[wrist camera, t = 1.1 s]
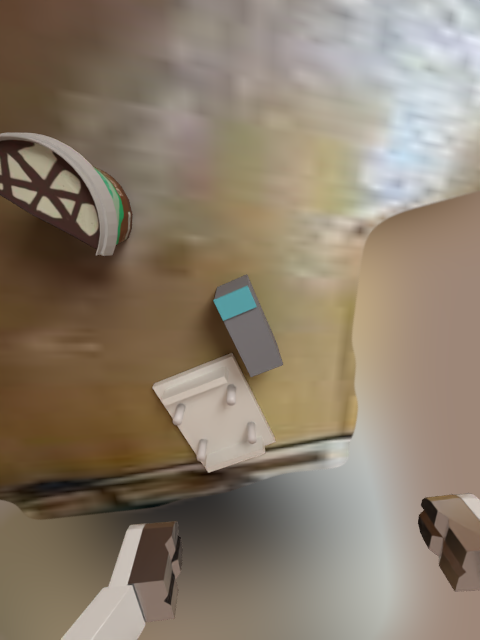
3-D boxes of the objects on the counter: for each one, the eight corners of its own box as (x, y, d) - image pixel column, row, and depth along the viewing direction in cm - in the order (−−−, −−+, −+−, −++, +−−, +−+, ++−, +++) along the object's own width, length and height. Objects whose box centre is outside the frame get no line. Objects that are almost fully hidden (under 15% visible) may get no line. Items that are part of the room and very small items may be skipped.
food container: (163, 195, 31) (132, 189, 22) (140, 244, 33) (102, 258, 24) (53, 125, 28) (-36, 84, 19) (34, 183, 30) (-55, 171, 21)
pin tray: (232, 352, 38) (231, 368, 34) (274, 437, 43) (278, 458, 40) (154, 383, 40) (145, 401, 36) (204, 461, 45) (201, 483, 41)
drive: (246, 272, 34) (248, 285, 28) (276, 341, 38) (283, 366, 32) (216, 285, 35) (212, 301, 29) (248, 352, 38) (251, 379, 32)
